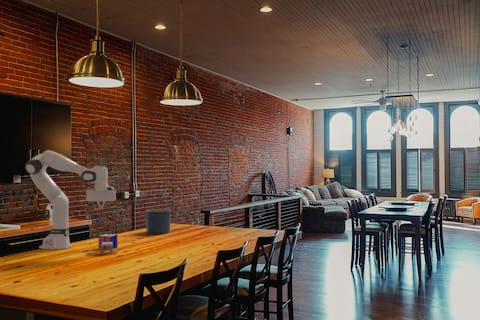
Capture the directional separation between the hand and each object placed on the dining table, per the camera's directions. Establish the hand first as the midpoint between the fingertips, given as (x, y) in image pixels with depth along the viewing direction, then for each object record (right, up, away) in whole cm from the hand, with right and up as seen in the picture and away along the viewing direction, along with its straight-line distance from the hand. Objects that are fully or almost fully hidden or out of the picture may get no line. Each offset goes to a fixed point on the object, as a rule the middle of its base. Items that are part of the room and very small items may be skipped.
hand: (101, 207), depth 315 cm
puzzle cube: (+2, -31, +9) cm, 33 cm away
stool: (+7, -30, -11) cm, 33 cm away
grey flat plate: (+4, -31, -11) cm, 33 cm away
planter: (+24, -32, +89) cm, 98 cm away
